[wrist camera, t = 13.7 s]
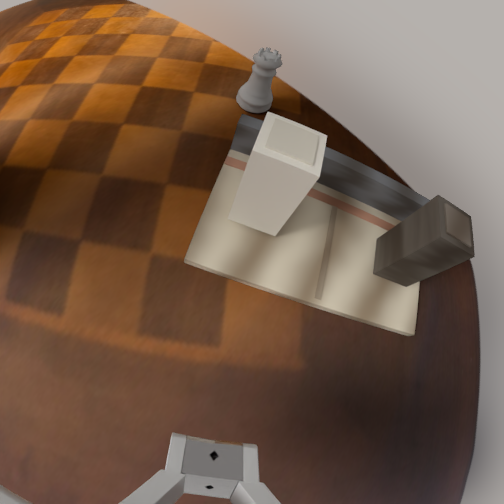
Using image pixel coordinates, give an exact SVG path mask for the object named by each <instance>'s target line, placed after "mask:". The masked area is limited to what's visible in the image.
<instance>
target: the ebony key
mask: <svg viewBox="0 0 504 504" xmlns="http://www.w3.org/2000/svg"><path fill="white" fill-rule="evenodd" d="M473 257H474V243H473V232H472V222H471V216H469V215H468V214H467V213H465V212H464V211H462V210H461V209H459V208H458V207H456V206H454V205H453V204H452V203H450V202H449V201H447V200H445V199H444V198H442V197H441V196H439V195H437V196H436V197H435V198H433V199H432V200H430V201H429V202H428V203H426V204H425V205H424V206H422V207H421V208H420V209H418V210H417V211H415V212H414V213H413V214H411V215H410V216H408V217H407V218H406V219H404V220H403V221H401V222H400V223H399V224H397V225H396V226H394V227H393V228H392V229H390V230H389V231H387V232H386V233H384V234H383V235H381V236H380V237H379V238H377V240H376V250H375V260H374V268H373V274H374V275H377V276H379V277H382V278H385V279H387V280H390V281H392V282H395V283H397V284H400V285H402V286H405V287H407V286H410V285H412V284H414V283H417V282H419V281H422V280H424V279H426V278H429V277H431V276H433V275H436V274H438V273H440V272H442V271H445V270H447V269H449V268H451V267H453V266H456V265H458V264H460V263H462V262H464V261H466V260H468V259H470V258H473Z"/></svg>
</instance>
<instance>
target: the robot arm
mask: <svg viewBox="0 0 504 504" xmlns="http://www.w3.org/2000/svg"><path fill="white" fill-rule="evenodd" d="M186 438H187V439H186ZM183 493H190V494H197V495H206V496H213V497H220V498H229V499H230V501H231V503H232V504H281V503H280V502H279V501H278V500H277V499H276V497H275V496H274V495H273V494H272V493H271V491H270V490H269V489H268V488H267V486H266V485H265V484H264V483H261V482H259V464H258V447H257V445H256V444H247V443H239V442H229V441H220V440H211V439H205V438H198V437H193V436H187V435H183V434H178V433H172V436H171V441H170V446H169V451H168V456H167V462H166V467H165V470H160V471H158V472H157V473H156V474H155V475H154V476H153V477H151V478H150V479H149V480H148V481H147V482H145V483H144V484H143V485H142V486H140V487H139V488H138V489H137V490H136V491H134V492H133V493H132V494H131V495H129V496H128V497H127V498H125V499H124V500H123V501H122V502H120V503H119V504H174V503H175V502H176V501H177V500H178V499H179V498H180V497H181V496H182V495H183ZM0 504H33V503H31V502H29V501H27V500H26V499H24V498H22V497H20V496H18V495H17V494H15V493H13V492H12V491H10V490H8V489H7V488H5V487H3V486H2V485H0Z"/></svg>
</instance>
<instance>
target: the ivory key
mask: <svg viewBox="0 0 504 504" xmlns="http://www.w3.org/2000/svg"><path fill="white" fill-rule="evenodd" d="M326 140H327V135H325V134H322V133H320V132H318V131H316V130H313V129H311V128H309V127H306V126H304V125H301V124H299V123H296V122H294V121H291V120H289V119H286V118H284V117H281V116H279V115H276V114H273V113H271V112H267V115H266V117H265V119H264V122H263V124H262V127H261V129H260V132H259V134H258V137H257V139H256V142H255V144H254V147H253V149H252V152H251V155H250V157H249V160H248V163H247V165H246V168H245V171H244V174H243V176H242V179H241V182H240V185H239V188H238V190H237V193H236V196H235V199H234V202H233V204H232V207H231V210H230V213H229V216H228V219H229V220H232V221H234V222H237V223H240V224H243V225H245V226H248V227H251V228H254V229H256V230H259V231H262V232H265V233H267V234H270V235H273V236H276V234H277V233H278V232H279V231H280V229H281V228H282V227H283V225H284V224H285V223H286V221H287V220H288V219H289V217H290V216H291V215H292V213H293V212H294V211H295V209H296V208H297V207H298V205H299V204H300V203H301V201H302V200H303V199H304V197H305V196H306V195H307V193H308V192H309V191H310V189H311V188H312V187H313V185H314V184H315V183H316V181H317V180H318V179H319V177H320V173H321V168H322V162H323V157H324V152H325V146H326Z"/></svg>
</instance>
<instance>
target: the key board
mask: <svg viewBox="0 0 504 504" xmlns="http://www.w3.org/2000/svg"><path fill="white" fill-rule="evenodd" d="M263 122H264V121H261V120H259V119H256V118H253V117H250V116H247V115H244V114H242V115H241V117H240V119H239V122H238V124H237V128H236V131H235V135H234V138H233V142H232V145H231V149H230V151H229V153H228V156H227V158H226V160H225V162H224V165H223V167H222V169H221V171H220V174H219V176H218V178H217V181H216V183H215V185H214V187H213V190H212V192H211V194H210V197H209V199H208V202H207V204H206V206H205V209H204V211H203V214H202V216H201V218H200V221H199V223H198V226H197V228H196V231H195V233H194V236H193V238H192V241H191V243H190V246H189V248H188V251H187V253H186V256H185V258H184V263H187V264H189V265H192V266H195V267H198V268H200V269H203V270H206V271H209V272H212V273H214V274H217V275H220V276H223V277H226V278H229V279H232V280H234V281H237V282H240V283H243V284H246V285H249V286H252V287H255V288H258V289H261V290H264V291H267V292H269V293H272V294H275V295H278V296H281V297H284V298H287V299H290V300H293V301H297V302H300V303H303V304H306V305H309V306H312V307H315V308H318V309H321V310H324V311H327V312H331V313H334V314H337V315H340V316H343V317H346V318H350V319H353V320H356V321H359V322H363V323H366V324H369V325H372V326H376V327H379V328H382V329H386V330H389V331H392V332H396V333H399V334H403V335H406V336H412V335H414V334H415V326H416V318H417V308H418V296H419V283H420V281H419V282H417V283H414V284H412V285H410V286H407V287H405V286H402V285H400V284H397V283H395V282H392V281H390V280H387V279H385V278H382V277H379V276H377V275H374V274H373V268H374V260H375V250H376V240H377V238H379V237H380V236H381V235H383V234H384V233H386V232H387V231H389V230H390V229H392V228H393V227H394V226H396V225H397V224H399V223H400V222H401V221H403V220H404V219H406V218H407V217H408V216H410V215H411V214H413V213H414V212H415V211H417V210H418V209H420V208H421V207H422V206H424V205H425V204H426V203H428V202H429V201H430V200H428V199H427V198H425V197H423V196H422V195H420V194H418V193H417V192H415V191H413V190H411V189H410V188H408V187H406V186H404V185H402V184H401V183H399V182H397V181H395V180H393V179H391V178H389V177H388V176H386V175H384V174H382V173H380V172H378V171H376V170H374V169H372V168H370V167H368V166H366V165H364V164H362V163H360V162H358V161H356V160H354V159H352V158H350V157H348V156H345V155H343V154H341V153H339V152H337V151H335V150H332V149H330V148H328V147H326V146H325V152H324V157H323V162H322V168H321V173H320V177H319V179H318V180H317V181H316V183H315V184H314V185H313V187H312V188H311V189H310V191H309V192H308V193H307V195H306V196H305V197H304V199H303V200H302V201H301V203H300V204H299V205H298V207H297V208H296V209H295V211H294V212H293V213H292V215H291V216H290V217H289V219H288V220H287V221H286V223H285V224H284V225H283V227H282V228H281V229H280V231H279V232H278V233H277V234H276V236H273V235H270V234H267V233H265V232H262V231H259V230H256V229H254V228H251V227H248V226H245V225H243V224H240V223H237V222H234V221H232V220H229V219H228V216H229V213H230V210H231V207H232V204H233V202H234V199H235V196H236V193H237V190H238V188H239V185H240V182H241V179H242V176H243V174H244V171H245V168H246V165H247V163H248V160H249V157H250V155H251V152H252V149H253V147H254V144H255V142H256V139H257V137H258V134H259V132H260V129H261V127H262V124H263Z"/></svg>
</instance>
